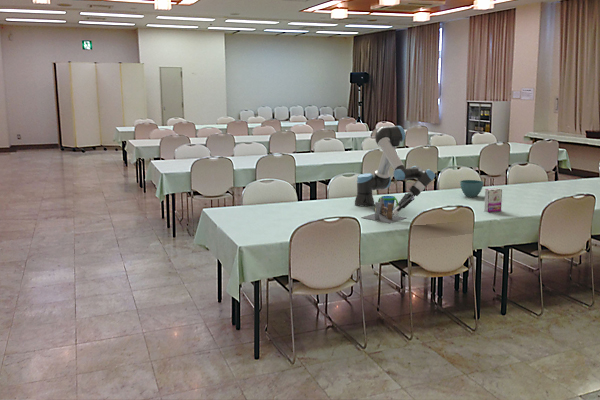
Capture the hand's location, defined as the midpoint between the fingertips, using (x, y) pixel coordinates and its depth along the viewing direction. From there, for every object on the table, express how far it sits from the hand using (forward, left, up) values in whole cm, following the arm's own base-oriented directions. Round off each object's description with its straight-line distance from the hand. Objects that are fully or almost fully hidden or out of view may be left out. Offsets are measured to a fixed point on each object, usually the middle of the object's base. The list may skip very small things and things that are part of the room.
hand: (393, 214), depth 393 cm
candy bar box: (+39, +69, -4) cm, 79 cm away
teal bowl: (+1, +110, -4) cm, 110 cm away
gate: (-7, +1, -3) cm, 8 cm away
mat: (-7, -1, -4) cm, 8 cm away
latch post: (-7, -9, -4) cm, 12 cm away
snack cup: (-19, +21, -4) cm, 29 cm away
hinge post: (-14, +6, -4) cm, 16 cm away
